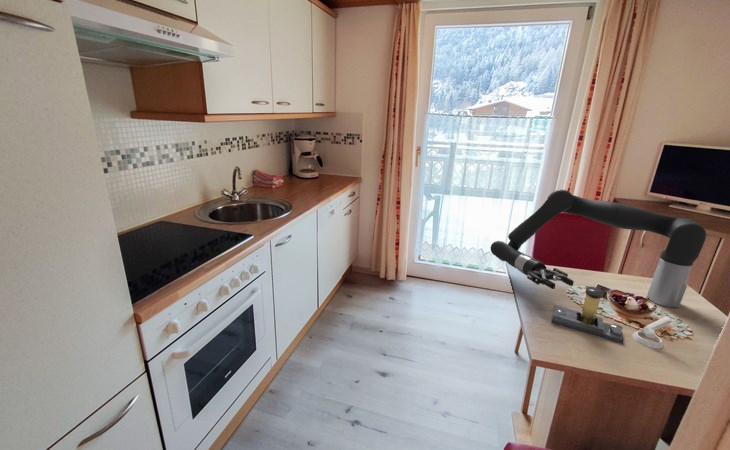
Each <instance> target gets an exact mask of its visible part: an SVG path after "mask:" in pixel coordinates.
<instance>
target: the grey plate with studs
mask: <svg viewBox="0 0 730 450" xmlns="http://www.w3.org/2000/svg"><path fill="white" fill-rule="evenodd" d="M581 312H582V311H578V310H575V309H571V308H568V307H563V306H559V305H557V304H554V305H553V310H552V315H551V324H554V325H558V326H561V327H563V328H568V329H570V330H574V331H577V332H581V333H584V334H587V335H591V336H595V337H598V338H601V339H603V340H607V341H611V342H614V343H617V344H621V345H623V344H624V342H625V341H624V340H625V338H624V334H623V326H622V325H620V324H617V323H607V322H604V318H603V317H601V316H600V317H599V316H597V315H596V317H595V320H594V324H593V325H590V324H587V323H583V322H580V321H579V320H580V316H581Z"/></svg>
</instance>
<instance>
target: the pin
mask: <svg viewBox="0 0 730 450" xmlns="http://www.w3.org/2000/svg"><path fill="white" fill-rule="evenodd" d="M584 293H585V296H584V297H585V298H584V302H583V305H582V309H581V311H580V312H581V316H580V320H579V321H580V322H583V323H587V324H590V325H593V324H594V320H595V317H596V316H597V314H598V309H599V305H600V302H601V299H603V297H604V295H605V292H604V290H603V289H600V288H599V287H594V286H586V288H585V292H584Z"/></svg>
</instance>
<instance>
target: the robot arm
mask: <svg viewBox="0 0 730 450" xmlns="http://www.w3.org/2000/svg"><path fill="white" fill-rule="evenodd" d="M561 213H564V214H565V213H566V214H571V215H574V216H575V215H576V216H580V217H584V218H585V219H589V220H592V221H594V222H597V223H600V224H604V225H607V226H611V227H614V228H619V229H623V230H624V229H625V230H629V231H630V230H631V231H645V232H649V233H654V234H657V235H660V236H663V237H666V238H669V240H668V243H667V245H666V248H665V249H664V250H662V251H661V253H660V255H659V256H660V257H659V259H658V261H657V266H656V268H655V271H654V274H653V276H652V280H651V282H650V286H649V288H648V291H647V295H646V298H647V299H648V298H649V299H651V300H652V301H653V302H652V301H651V302H652V303H654V304H657V305H659V306H663V307H669V308H680V306H681V303H682V300H683V298H684V295H685V293H686V289H687V287H688V284H687V281H688V277H689V276H690V272H691V270H692V267H693V265H694V262H695V261H696V260H697V259H698V258H699V255H700V254H701V252H702V249H703V247H704V244H705V241H706V238H707V232H706V229H705V228H704V227H703V226H702V225H701V224H700V223H698V222H696V220H693V219H690V218H685V217H679V216H671V215H665V214H659V213H655V212H651V211H649V210H645V209H642V208H638V207H636V206H630V205H627V204H623V203H618V202H614V201H608V200H600V199H599V200H598V199H590V198H589V199H588V198H584V197H581V196H577V195H574V194H572V192H570V191H569V190H567V189H556V190H553V191H551V193H550V194H549V195H548V197H547V198H546V200H545V201H544V202H543V203H542V205H540V207H539V208H538V209H537V210H536V211H535V212H534V213H532V215H530V216H528V218H526V219H525V220H523V222H521V223H520V224H518V226H516V227H515V228H514V229H513V230H512V231H511V232H510V233H508V235H507V238H508V240H509V241H508V243H506V242H504V241H501V240H496V241H494V242H492V244H491V245H490V252H491V253H492V254H493V256H495V257H496V258H497V259H499V261H501V262H506V263H507V264H508V265H510V266H511V267H513V268H515V269H516V270H518V271H519V272H520V273H522V274H523V275H526V278H527V280H530V282H533V283H534V284H536V285H538V286H539V285H542V286H546V287H548V288H550V289H552V290H554V289H556V283H555V282H557V281H559V282H562V283H564V284H565V285H568V286H569V287H573V286H574V283H575V281H574V280H573V279H571V278H569V277H568V276H569V274H568V273H567V272H565V271H562V270H560V269H558V268H556V267H553V269H550V268H548V267H546V264H545V263H544V262H542V261H540V260H538V259H536V258H534V257H533V256H531V255H528V254H526V253H524V252H521V251H519V250H520V248H521V247H522V246H523V244H525V243H526V242H527V241H529V239H530V238H532V237H533V236H534V235H535V234H536V233H537V232H538V231H539V230H541V229H542V228H543V227H544V225H545V224H547V223H548V222H550V221H551V220H552V219H554V218H555V217H556V216H558V215H559V214H561ZM554 281H555V282H554ZM649 299H648V300H649Z"/></svg>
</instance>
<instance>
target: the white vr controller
mask: <svg viewBox="0 0 730 450" xmlns="http://www.w3.org/2000/svg"><path fill="white" fill-rule="evenodd" d="M672 323H673V319H671V318H670V316H668V315H667V316H664V317H662V318H660V319H657V320H655V321H654V322H653V321H652V322H651V323H649V324H648V325H646V326H644V327H643V330H637V331H635V332H634V333H633V334H632V338H633V340H634V341H636V342H637V343H639V344H641V345H642V346H645V347H647V348H651V349H662V348H664V344H663V341H662V338H660V337H659V336H658V335H656V331H657V330H659V329H661V328H663V327H666V326H668V325H670V324H672ZM640 335H645V337H647V338H648V339H654V340H656V341H657V342H655V341H651V340H648V339H645V338H643V337H641V336H640Z"/></svg>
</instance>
